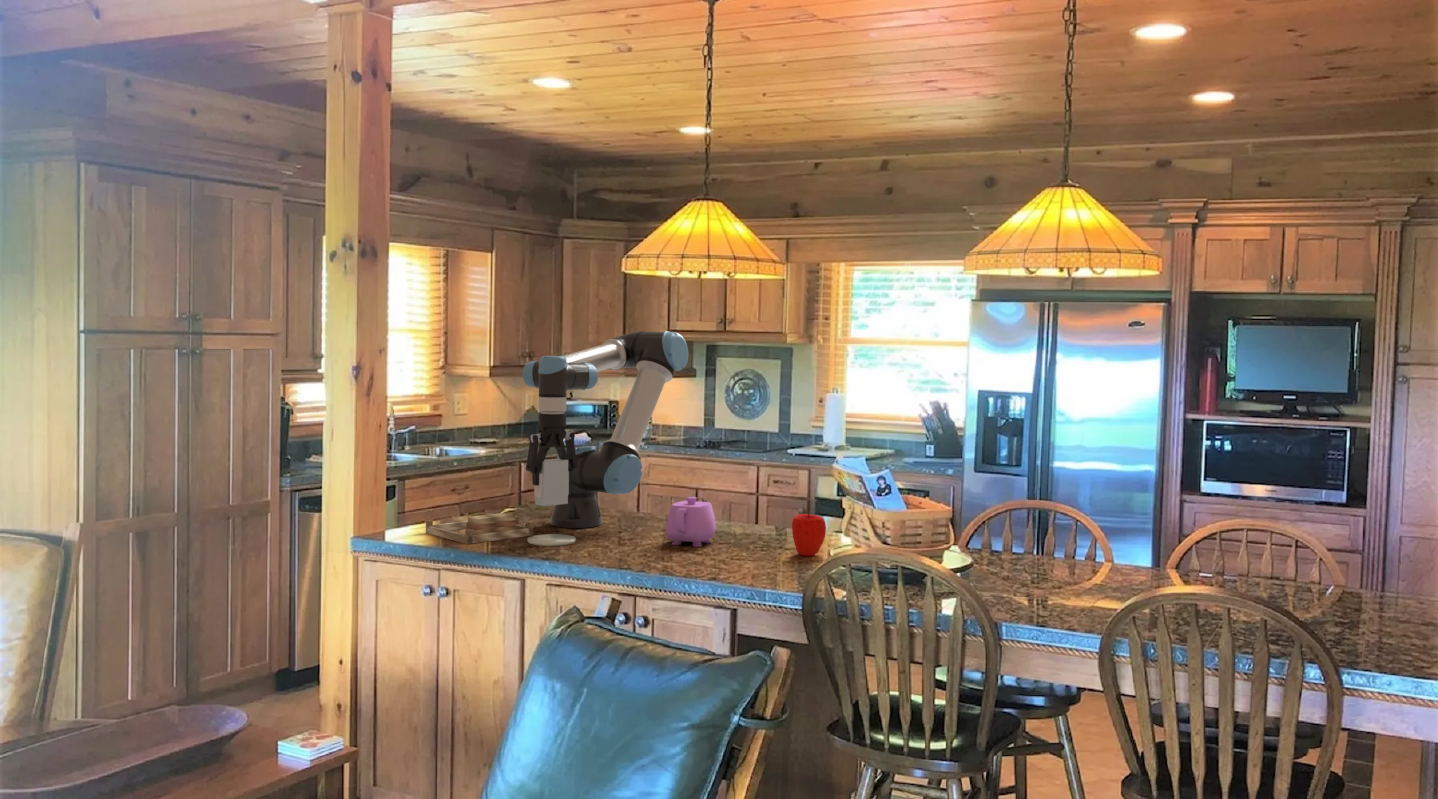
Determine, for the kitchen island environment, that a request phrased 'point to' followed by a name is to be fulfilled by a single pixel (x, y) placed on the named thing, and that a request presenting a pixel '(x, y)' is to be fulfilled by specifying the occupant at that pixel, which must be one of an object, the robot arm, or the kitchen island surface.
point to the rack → (468, 538)
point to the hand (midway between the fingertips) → (551, 495)
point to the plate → (551, 540)
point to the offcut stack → (491, 523)
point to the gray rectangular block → (554, 483)
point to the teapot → (691, 522)
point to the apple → (808, 533)
